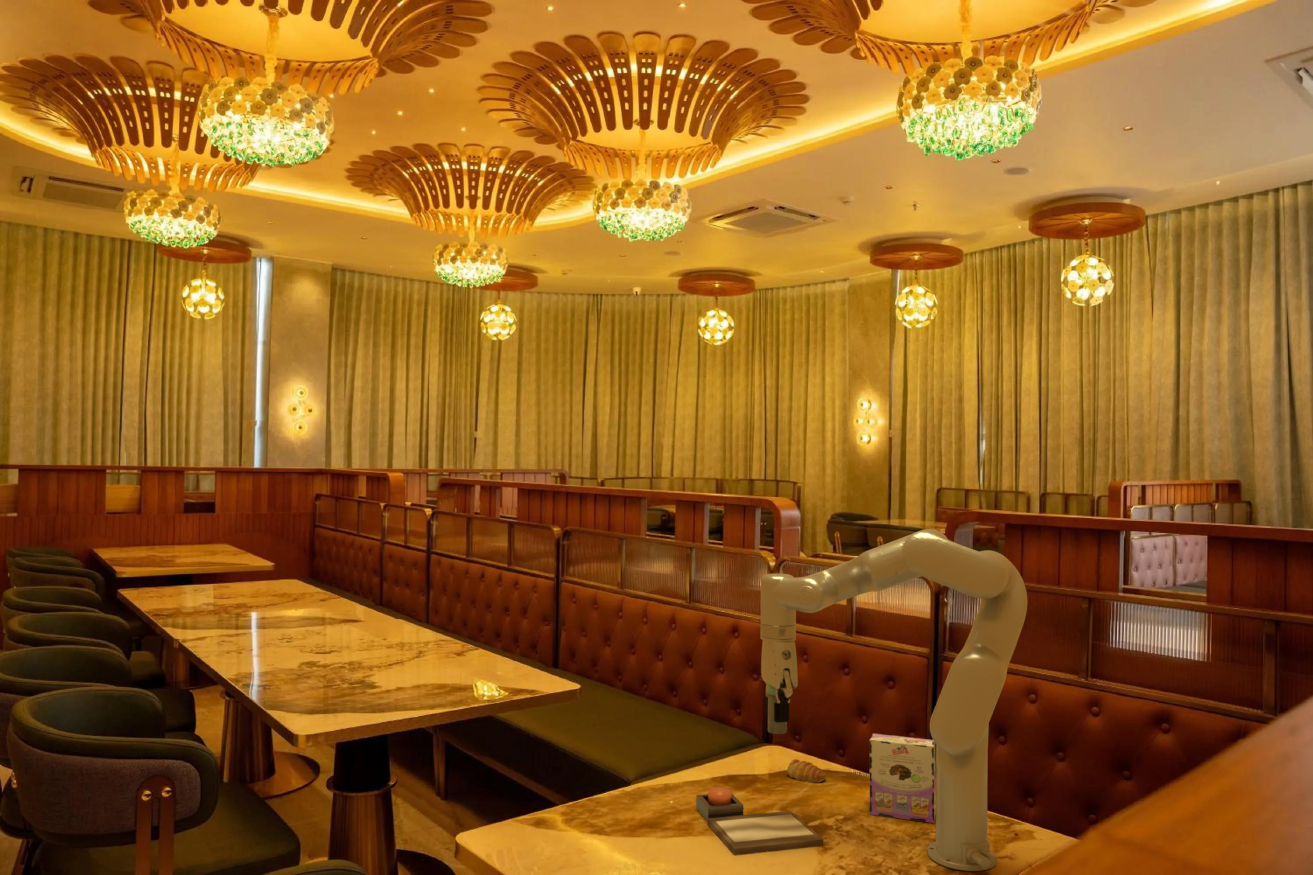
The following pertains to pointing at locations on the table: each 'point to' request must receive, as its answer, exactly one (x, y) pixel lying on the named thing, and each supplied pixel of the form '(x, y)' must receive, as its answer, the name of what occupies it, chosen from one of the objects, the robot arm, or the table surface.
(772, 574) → the robot arm
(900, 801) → the candy box
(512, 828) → the table surface
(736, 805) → the button housing
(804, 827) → the board
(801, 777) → the pastry
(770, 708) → the cylinder
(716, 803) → the button
